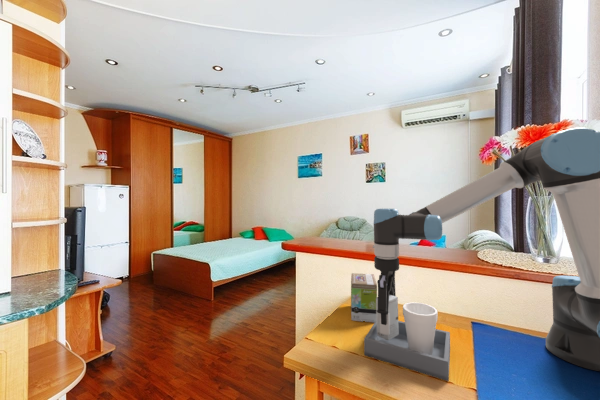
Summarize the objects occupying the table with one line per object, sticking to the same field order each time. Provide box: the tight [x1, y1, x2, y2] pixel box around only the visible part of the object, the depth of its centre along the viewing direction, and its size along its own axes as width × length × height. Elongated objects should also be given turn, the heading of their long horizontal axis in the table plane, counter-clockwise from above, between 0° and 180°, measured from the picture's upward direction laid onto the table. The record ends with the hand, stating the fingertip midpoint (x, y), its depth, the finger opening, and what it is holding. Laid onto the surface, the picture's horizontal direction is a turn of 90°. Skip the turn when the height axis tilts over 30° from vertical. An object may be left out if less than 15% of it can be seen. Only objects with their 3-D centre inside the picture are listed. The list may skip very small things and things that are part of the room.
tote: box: [363, 320, 451, 382], centre depth 78 cm, size 22×17×5 cm
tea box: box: [350, 272, 378, 323], centre depth 105 cm, size 15×10×15 cm, turn 168°
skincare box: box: [376, 294, 399, 340], centre depth 81 cm, size 6×4×12 cm
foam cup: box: [402, 301, 439, 355], centre depth 76 cm, size 10×9×13 cm
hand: (387, 328), depth 81 cm, fingers closed on skincare box, 7 cm apart
